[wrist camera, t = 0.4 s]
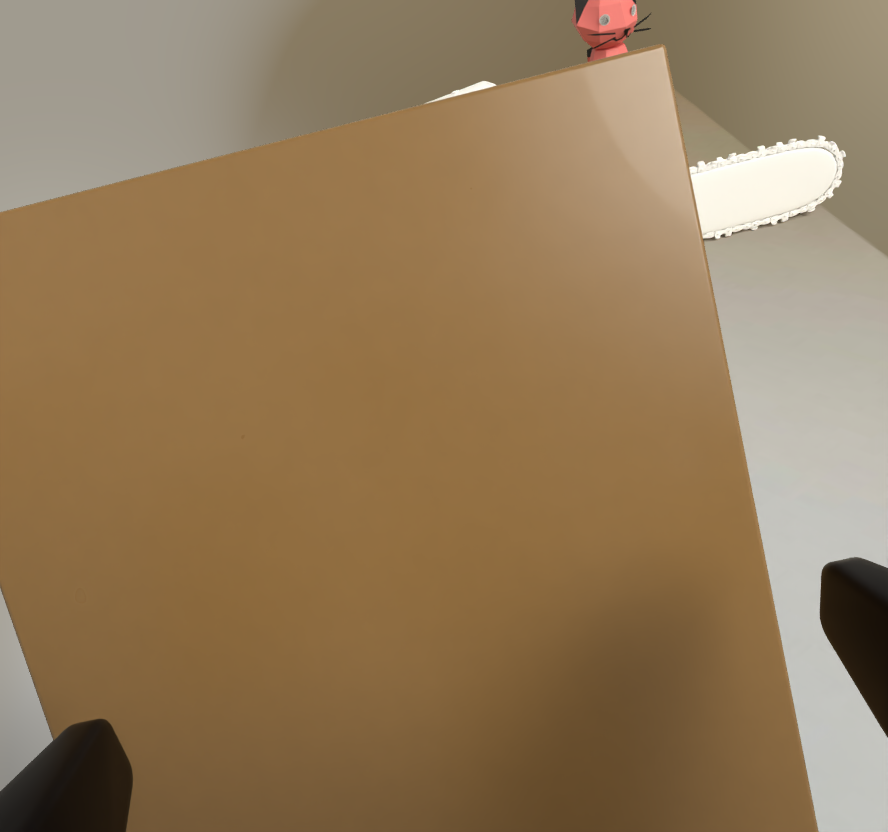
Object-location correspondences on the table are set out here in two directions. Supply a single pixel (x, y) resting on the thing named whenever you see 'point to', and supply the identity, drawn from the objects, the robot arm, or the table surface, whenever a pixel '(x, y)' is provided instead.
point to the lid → (399, 479)
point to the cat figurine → (605, 25)
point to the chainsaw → (756, 182)
